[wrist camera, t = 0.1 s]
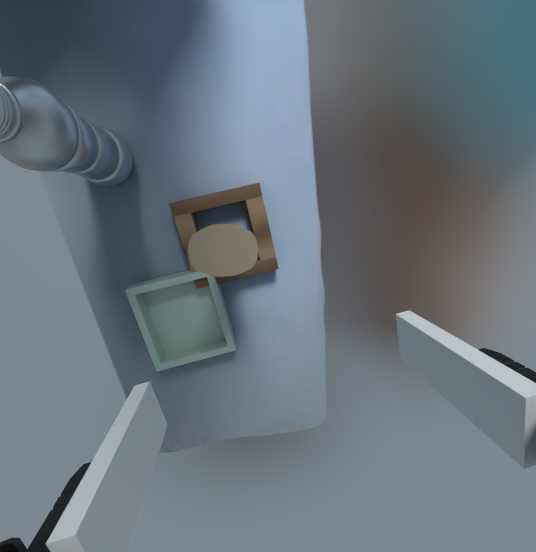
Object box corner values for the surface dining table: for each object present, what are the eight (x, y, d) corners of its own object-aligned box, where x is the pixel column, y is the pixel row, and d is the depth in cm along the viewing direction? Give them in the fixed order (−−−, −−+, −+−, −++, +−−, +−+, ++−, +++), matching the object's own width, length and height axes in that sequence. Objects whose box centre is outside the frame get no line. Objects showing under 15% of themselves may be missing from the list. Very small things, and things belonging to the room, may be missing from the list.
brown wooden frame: (173, 203, 38) (169, 203, 35) (257, 184, 38) (259, 182, 36) (198, 284, 41) (196, 289, 38) (275, 265, 41) (278, 268, 39)
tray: (132, 283, 39) (124, 289, 36) (213, 263, 40) (212, 268, 37) (161, 360, 43) (156, 371, 40) (235, 340, 44) (235, 350, 41)
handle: (249, 251, 40) (259, 274, 26) (206, 253, 40) (190, 278, 25) (248, 218, 39) (257, 223, 25) (203, 219, 39) (185, 225, 24)
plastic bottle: (88, 186, 36) (-82, 159, 16) (81, 130, 34) (-116, 27, 15) (139, 188, 37) (35, 164, 17) (135, 133, 35) (14, 40, 16)
